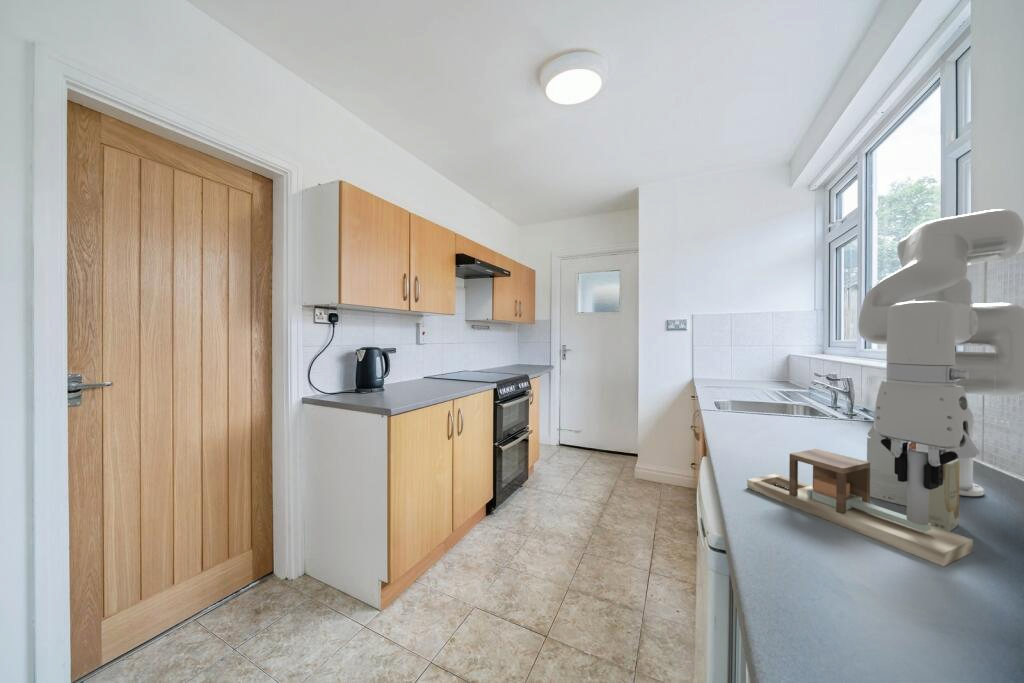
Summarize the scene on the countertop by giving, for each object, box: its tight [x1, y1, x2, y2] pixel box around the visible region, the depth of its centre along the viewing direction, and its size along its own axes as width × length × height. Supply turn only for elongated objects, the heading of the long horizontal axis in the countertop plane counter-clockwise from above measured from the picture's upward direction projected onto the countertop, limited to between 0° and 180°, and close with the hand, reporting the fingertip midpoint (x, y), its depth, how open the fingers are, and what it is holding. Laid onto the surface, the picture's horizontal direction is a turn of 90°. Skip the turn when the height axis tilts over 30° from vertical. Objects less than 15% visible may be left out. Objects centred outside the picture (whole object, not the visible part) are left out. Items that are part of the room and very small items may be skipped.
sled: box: [807, 449, 931, 532], centre depth 65 cm, size 6×16×13 cm, turn 22°
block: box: [812, 476, 850, 500], centre depth 70 cm, size 4×4×4 cm
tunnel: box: [788, 448, 871, 514], centre depth 71 cm, size 9×9×8 cm
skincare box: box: [929, 459, 960, 532], centre depth 66 cm, size 6×4×12 cm
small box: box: [866, 436, 916, 507], centre depth 77 cm, size 8×6×13 cm
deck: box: [746, 473, 974, 567], centre depth 69 cm, size 10×30×2 cm, turn 22°
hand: (917, 483), depth 59 cm, fingers closed on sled, 2 cm apart
